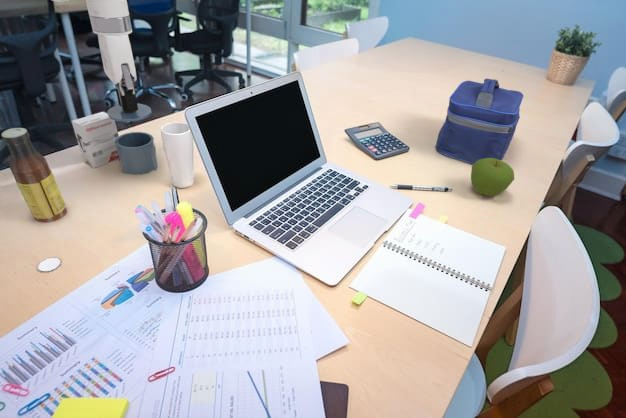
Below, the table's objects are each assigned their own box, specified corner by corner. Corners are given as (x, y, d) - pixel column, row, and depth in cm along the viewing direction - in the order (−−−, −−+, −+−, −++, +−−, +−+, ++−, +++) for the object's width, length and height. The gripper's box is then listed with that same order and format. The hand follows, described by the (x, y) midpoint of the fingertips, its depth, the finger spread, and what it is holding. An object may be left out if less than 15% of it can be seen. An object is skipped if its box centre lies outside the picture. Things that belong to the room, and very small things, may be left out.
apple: (464, 198, 104) (477, 166, 98) (463, 178, 112) (474, 148, 106) (506, 207, 102) (522, 175, 96) (502, 187, 110) (516, 156, 105)
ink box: (113, 150, 107) (103, 110, 100) (124, 157, 105) (114, 116, 98) (82, 162, 101) (69, 119, 94) (93, 169, 99) (80, 126, 92)
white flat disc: (50, 257, 74) (49, 254, 74) (67, 262, 73) (66, 260, 73) (32, 271, 71) (31, 268, 70) (50, 277, 70) (49, 274, 70)
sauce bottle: (62, 203, 87) (32, 120, 75) (72, 217, 84) (42, 132, 72) (28, 214, 83) (-9, 129, 71) (38, 229, 80) (0, 142, 68)
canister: (127, 179, 97) (120, 151, 92) (117, 163, 102) (111, 135, 98) (162, 171, 101) (158, 143, 96) (152, 156, 107) (147, 129, 102)
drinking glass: (163, 182, 97) (154, 126, 89) (187, 173, 102) (181, 119, 93) (178, 193, 94) (170, 137, 85) (202, 184, 98) (197, 129, 89)
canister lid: (114, 127, 88) (106, 95, 83) (104, 111, 94) (96, 80, 89) (157, 119, 93) (152, 89, 88) (145, 105, 99) (139, 76, 94)
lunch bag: (449, 121, 146) (467, 65, 134) (508, 136, 139) (532, 79, 127) (430, 153, 123) (449, 90, 111) (499, 174, 116) (527, 109, 104)
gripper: (83, 16, 84) (103, 98, 95) (101, 35, 74) (121, 124, 85) (120, 14, 88) (135, 94, 99) (141, 32, 78) (156, 118, 89)
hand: (128, 107), depth 92 cm, fingers closed on canister lid, 3 cm apart
